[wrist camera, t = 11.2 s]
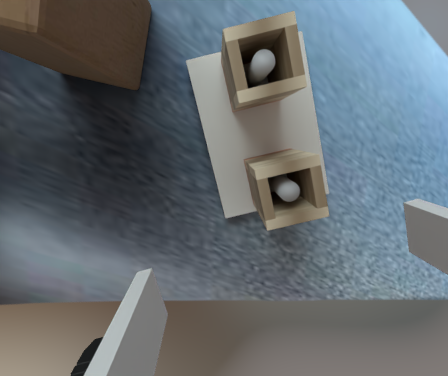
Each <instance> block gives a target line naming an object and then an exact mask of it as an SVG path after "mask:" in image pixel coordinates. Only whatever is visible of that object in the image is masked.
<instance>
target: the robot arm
mask: <svg viewBox="0 0 448 376" xmlns="http://www.w3.org/2000/svg"><path fill="white" fill-rule="evenodd" d="M404 212H405V220H406V229H407V237H408V246H409V252H411V253H412V254H414V255H416V256H417V257H419V258H421V259H422V260H424V261H426V262H427V263H429V264H431V265H432V266H434V267H436V268H437V269H439V270H441V271H442V272H444V273H446V274H447V275H448V208H445V207H442V206H439V205H436V204H433V203H430V202H427V201H423V200H420V199H416V200H412V201H408V202H404ZM167 316H168V314H167V311H166V308H165V305H164V302H163V299H162V296H161V293H160V290H159V287H158V284H157V281H156V278H155V276H154V273H153V270H152V268H151V269H147V270H143V271H139V272H137V274H136V276H135V277H134V279H133V281H132V283H131V285H130V287H129V289H128V291H127V293H126V295H125V297H124V299H123V301H122V303H121V305H120V306H119V309H118V310H117V312H116V314H115V316H114V318H113V320H112V322H111V324H110V326H109V328H108V330H107V332H106V334H105V336H104V337H102V338H98V339H95V340H94V341H93V342H92V343H91V344H90V345H89V346H88V347H87V348H86V349H85V350H84V352H83V353H82V355H81V357H80V359H79V360H78V362H77V366H75V367H74V369H73V371H72V373H71V376H154V372H155V368H156V364H157V360H158V355H159V351H160V346H161V342H162V338H163V333H164V329H165V325H166V320H167Z"/></svg>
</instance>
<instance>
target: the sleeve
mask: <svg viewBox="0 0 448 376" xmlns="http://www.w3.org/2000/svg"><path fill="white" fill-rule="evenodd" d="M244 164H245V168H246V173H247V177H248V182H249V186H250V191H251V196H252V200H253V204H254V206H255V208H256V210H257V212H258V214H259V216H260V217H261V219H262V221H263V223H264V225H265V227H266V229H267V231H268V230H273V229H277V228H281V227H285V226H290V225H294V224H298V223H303V222H307V221H311V220H315V219H320V218H324V217H328V216H329V211H328V205H327V199H326V193H325V187H324V181H323V175H322V169H321V162H320V156H319V154H315V153H310V152H305V151H300V150H295V149H290V148H289V149H285V150H281V151H277V152H272V153H268V154H264V155H260V156H256V157H251V158H247V159H244ZM285 173H286V174H287V178H288V179H290V180H291V181H293V182H295V183H296V184H297V185H298V186H299V188H300V194H299V196H298V198H297V199H296V200H294V201H291V202H287V201H284V200H283V199H282V198H281V197H280V196H279V195H278V194H277V193H276V192H275V191H274V192H270V188H269V184H268V179H267V178H268V177H273V176H277V175H281V174H285Z"/></svg>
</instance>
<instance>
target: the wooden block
mask: <svg viewBox="0 0 448 376" xmlns="http://www.w3.org/2000/svg"><path fill="white" fill-rule="evenodd" d="M150 15H151V5H150V3H149V1H148V0H0V49H1V50H3V51H6V52H8V53H11V54H14V55H16V56H19V57H21V58H24V59H26V60H29V61H32V62H34V63H37V64H39V65H42V66H44V67H47V68H50V69H52V70H55V71H57V72H60V73H63V74H67V75H71V76H76V77H80V78H84V79H89V80H93V81H97V82H101V83H106V84H110V85H114V86H119V87H123V88H127V89H131V90H138V89H139V86H140V80H141V73H142V67H143V60H144V54H145V47H146V41H147V35H148V28H149V22H150Z"/></svg>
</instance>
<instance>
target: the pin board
mask: <svg viewBox="0 0 448 376" xmlns="http://www.w3.org/2000/svg"><path fill="white" fill-rule="evenodd" d="M298 35H299V41H300V47H301V53H302V59H303V65H304V71H305V77H306V82H307V87H305V88H303V89H301V90H299V91H298V92H296V93H294V94H292V95H290V96H288V97H286V98H284V99H282V100H280V101H276V102H272V103H268V104H264V105H260V106H256V107H252V108H248V109H244V110H240V111H236V112H232V108H231V104H230V99H229V95H228V90H227V86H226V82H225V77H224V73H223V68H222V64H221V52H218V53H214V54H210V55H206V56H202V57H198V58H194V59H190V60H186V63H187V67H188V71H189V75H190V79H191V83H192V87H193V91H194V95H195V99H196V103H197V107H198V111H199V115H200V119H201V123H202V127H203V131H204V135H205V139H206V143H207V147H208V151H209V155H210V159H211V163H212V167H213V171H214V175H215V179H216V183H217V186H218V190H219V194H220V198H221V202H222V206H223V210H224V214H225V218H230V217H234V216H238V215H242V214H246V213H250V212H255V211H257V210H256V208H255V206H254V204H253V200H252V196H251V191H250V186H249V182H248V177H247V173H246V168H245V164H244V159H247V158H251V157H256V156H260V155H264V154H268V153H272V152H277V151H281V150H285V149H289V148H290V149H295V150H300V151H305V152H310V153H315V154H319V156H320V162H321V169H322V175H323V181H324V187H325V193H326V194H329V190H328V184H327V178H326V172H325V166H324V160H323V154H322V148H321V142H320V136H319V130H318V124H317V118H316V112H315V106H314V100H313V94H312V88H311V82H310V76H309V70H308V64H307V58H306V52H305V46H304V40H303V34H302V31H301V32H298ZM274 66H275V57H274V55H273V53H272V52H271V51H269V50H266V49H262V50H259V51H258V52H256V54H255V55H254V57H253V59H252V61H251V63H249V64H245V65H243V68H244V72H245V77H246V82H247V86H248V89H249V88H253V87H257V86H261V85H265V84H269V83H268V78H267V75H268V74H269V73H270V72H271V71H272V69H273V68H274ZM267 179H268V184H269V188H270V192H274V191H275V192H276V193H277V194H278V195H279V196H280V197H281V198H282V199H283V200H284V201H287V202H291V201H294V200H296V199H297V198H298V196H299V194H300V188H299V186H298V185H297V184H296V183H295V182H293V181H291V180H290V179H288V178H287V174H286V173H285V174H281V175H277V176H273V177H268V178H267Z"/></svg>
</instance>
